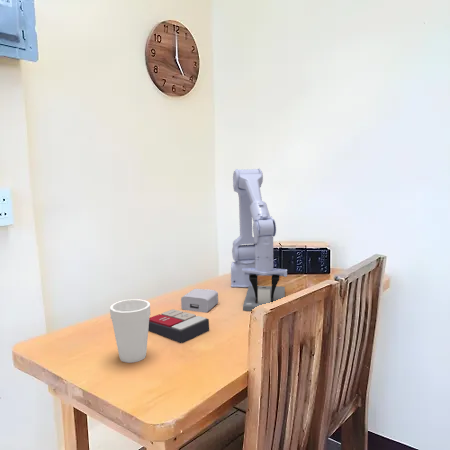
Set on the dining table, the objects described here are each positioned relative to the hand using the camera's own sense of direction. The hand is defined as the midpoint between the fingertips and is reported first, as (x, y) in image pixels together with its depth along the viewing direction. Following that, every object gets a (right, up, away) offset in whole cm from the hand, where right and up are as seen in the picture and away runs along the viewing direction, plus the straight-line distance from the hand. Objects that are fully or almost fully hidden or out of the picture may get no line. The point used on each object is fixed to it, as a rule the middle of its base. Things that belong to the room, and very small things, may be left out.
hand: (264, 296), depth 136 cm
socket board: (+1, -2, +5) cm, 6 cm away
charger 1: (-20, -3, +3) cm, 20 cm away
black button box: (-26, -7, -19) cm, 33 cm away
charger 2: (0, -3, +1) cm, 3 cm away
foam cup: (-35, -9, -34) cm, 50 cm away
